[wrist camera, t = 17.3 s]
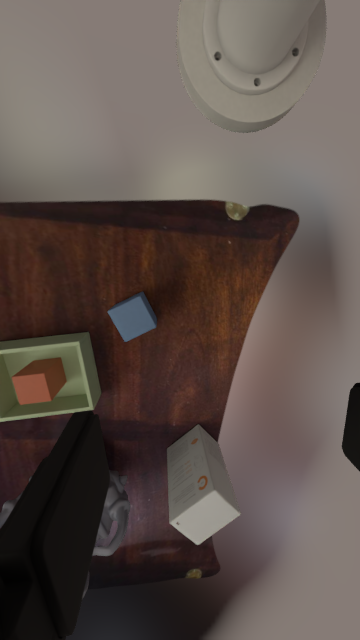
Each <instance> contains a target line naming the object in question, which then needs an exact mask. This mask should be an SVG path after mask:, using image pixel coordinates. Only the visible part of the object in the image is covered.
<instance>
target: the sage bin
mask: <svg viewBox="0 0 360 640" xmlns="http://www.w3.org/2000/svg"><path fill="white" fill-rule="evenodd" d="M60 357H61V359H62V364H63V368H64V372H65V376H66V380H67V382H66V383H65V385H64V386H63V387H62V388H61V390H60V391H59V392H58V393H57V395H56V396H55V397H54V398H53V400H52V401H47V402H39V403H31V404H23V405H20V403H19V400H18V397H17V394H16V390H15V387H14V384H13V381H12V376H14V375H15V374H16V373H17V372H19V371H20V370H21V369H23V368H24V367H25V366H27V365H28V364H29V363H31V362H32V361H34V360H42V359H51V358H60ZM100 395H101V389H100V384H99V379H98V374H97V369H96V364H95V359H94V354H93V350H92V345H91V340H90V335H89V332H84V333H75V334H66V335H57V336H48V337H39V338H30V339H21V340H12V341H3V342H0V422H3V421H10V420H18V419H26V418H34V417H42V416H49V415H57V414H65V413H73V412H81V411H89V410H94V408H95V406H96V404H97V402H98V400H99V397H100Z"/></svg>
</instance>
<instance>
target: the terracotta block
mask: <svg viewBox="0 0 360 640" xmlns="http://www.w3.org/2000/svg"><path fill="white" fill-rule="evenodd" d="M12 381H13V384H14V387H15V390H16V394H17V397H18V400H19V403H20V405H23V404H31V403H39V402H47V401H52V400H53V398H54V397H55V396H56V395H57V393H58V392H59V391H60V390H61V388H62V387H63V386H64V385H65V383H66V382H67V380H66V376H65V372H64V368H63V364H62V359H61V357H60V358H51V359H42V360H34V361H32V362H31V363H29V364H28V365H27V366H25V367H24V368H23V369H21V370H20V371H19V372H17V373H16V374H15V375H14V376H12Z"/></svg>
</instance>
